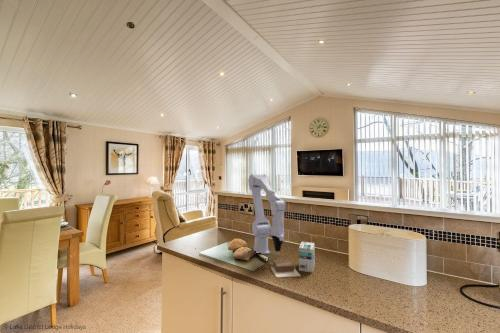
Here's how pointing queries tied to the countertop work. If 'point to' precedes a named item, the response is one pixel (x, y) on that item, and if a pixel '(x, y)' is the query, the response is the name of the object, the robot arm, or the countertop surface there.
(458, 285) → the countertop surface
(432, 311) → the countertop surface
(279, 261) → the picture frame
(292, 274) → the cream mat
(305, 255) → the light bulb box
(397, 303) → the countertop surface
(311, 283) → the countertop surface
